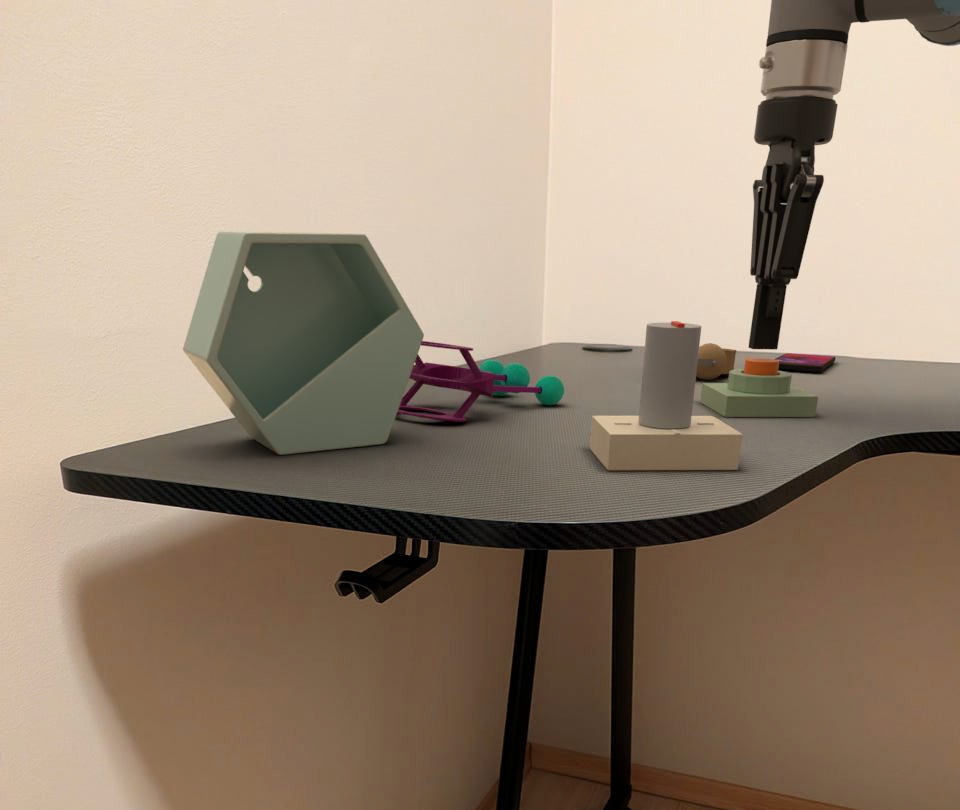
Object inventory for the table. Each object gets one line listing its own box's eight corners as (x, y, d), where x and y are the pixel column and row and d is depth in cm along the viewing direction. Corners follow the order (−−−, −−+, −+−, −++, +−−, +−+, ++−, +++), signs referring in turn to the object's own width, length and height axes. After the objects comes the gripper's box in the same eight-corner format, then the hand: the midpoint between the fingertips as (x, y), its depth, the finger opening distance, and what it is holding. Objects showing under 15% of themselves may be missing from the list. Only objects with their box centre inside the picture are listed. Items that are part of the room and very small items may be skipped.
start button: (769, 374, 102) (772, 357, 101) (781, 378, 99) (784, 362, 98) (738, 373, 102) (740, 357, 101) (749, 378, 98) (751, 362, 98)
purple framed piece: (569, 421, 102) (578, 356, 100) (437, 421, 89) (443, 346, 86) (492, 406, 110) (498, 345, 108) (361, 404, 97) (364, 335, 94)
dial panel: (707, 448, 83) (712, 413, 82) (739, 471, 75) (744, 432, 74) (589, 448, 82) (591, 413, 81) (608, 471, 74) (611, 432, 73)
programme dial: (633, 418, 79) (641, 318, 76) (682, 418, 79) (693, 318, 76) (645, 428, 75) (654, 323, 72) (697, 429, 76) (708, 324, 72)
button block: (783, 402, 106) (789, 367, 104) (815, 417, 98) (821, 379, 96) (700, 402, 105) (704, 366, 104) (724, 417, 97) (729, 378, 96)
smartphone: (837, 356, 140) (822, 366, 128) (835, 362, 140) (821, 372, 128) (785, 352, 143) (766, 362, 131) (784, 358, 143) (765, 368, 131)
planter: (315, 502, 81) (159, 299, 68) (286, 482, 87) (137, 292, 75) (454, 385, 84) (328, 169, 71) (416, 373, 90) (294, 173, 77)
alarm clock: (741, 349, 129) (728, 339, 115) (736, 385, 130) (723, 380, 116) (663, 344, 132) (641, 335, 119) (658, 379, 134) (637, 374, 120)
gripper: (739, 105, 95) (711, 341, 105) (786, 88, 83) (749, 356, 93) (808, 107, 95) (774, 342, 105) (865, 90, 84) (820, 356, 93)
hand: (762, 348), depth 99 cm, fingers closed
